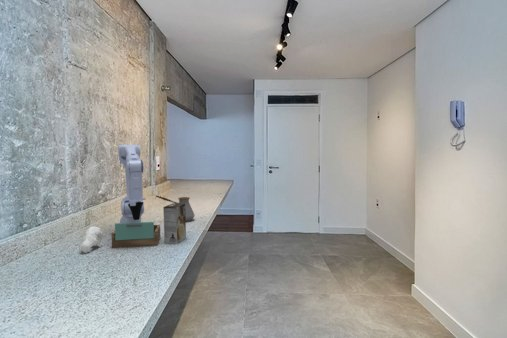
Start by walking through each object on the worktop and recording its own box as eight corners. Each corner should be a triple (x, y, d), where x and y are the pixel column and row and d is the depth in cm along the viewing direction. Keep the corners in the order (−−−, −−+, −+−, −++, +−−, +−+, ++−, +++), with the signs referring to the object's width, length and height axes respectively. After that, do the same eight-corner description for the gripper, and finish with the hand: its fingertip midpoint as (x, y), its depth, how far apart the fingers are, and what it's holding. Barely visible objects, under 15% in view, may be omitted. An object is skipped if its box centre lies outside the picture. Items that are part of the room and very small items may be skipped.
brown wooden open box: (118, 239, 142) (118, 226, 142) (160, 237, 146) (160, 224, 145) (112, 248, 131) (111, 233, 130) (157, 245, 134) (157, 231, 133)
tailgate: (116, 239, 132) (115, 223, 131) (154, 237, 134) (153, 221, 134) (115, 240, 130) (114, 224, 130) (153, 238, 133) (153, 222, 132)
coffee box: (173, 237, 146) (172, 202, 145) (186, 238, 145) (185, 203, 143) (163, 243, 137) (163, 206, 136) (177, 244, 136) (176, 207, 134)
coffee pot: (193, 217, 186) (193, 192, 185) (195, 222, 176) (195, 195, 174) (155, 220, 180) (154, 194, 179) (155, 224, 169) (154, 197, 168)
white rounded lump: (103, 224, 134) (90, 235, 122) (104, 243, 136) (92, 256, 124) (87, 225, 134) (73, 235, 122) (89, 244, 135) (75, 256, 123)
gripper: (142, 190, 129) (143, 223, 130) (147, 185, 143) (148, 215, 144) (124, 190, 128) (125, 223, 129) (131, 186, 142) (132, 216, 143)
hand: (136, 219), depth 136 cm, fingers closed
